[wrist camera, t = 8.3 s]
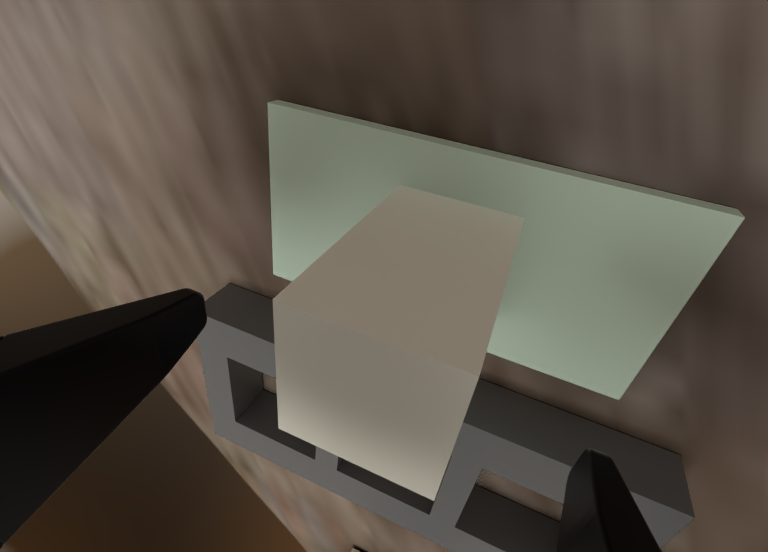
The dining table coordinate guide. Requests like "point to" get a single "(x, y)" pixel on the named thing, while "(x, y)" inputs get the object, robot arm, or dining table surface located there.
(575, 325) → the mat
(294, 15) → the dining table surface
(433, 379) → the plug
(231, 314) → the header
